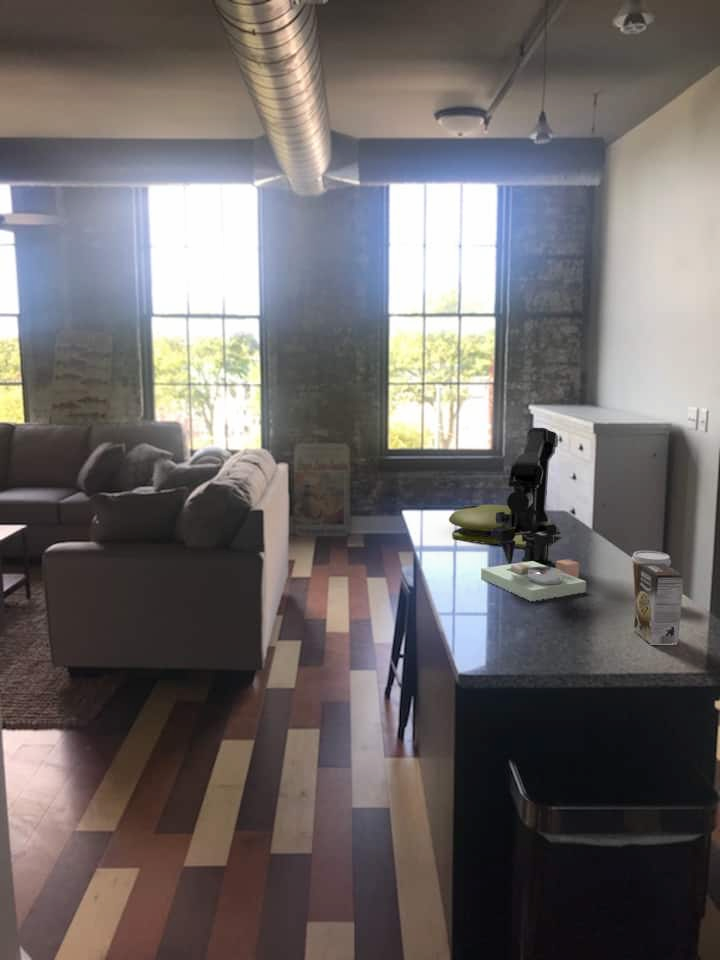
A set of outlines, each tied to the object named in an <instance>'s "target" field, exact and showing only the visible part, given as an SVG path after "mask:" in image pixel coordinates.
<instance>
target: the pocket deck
mask: <svg viewBox="0 0 720 960" xmlns="http://www.w3.org/2000/svg"><path fill="white" fill-rule="evenodd" d="M521 563H526V564H528V565H530V566H533V567H548V565H544V564H543V563H540V564H539V563H537V562H534V561H529V562H528V561H523V562H516V563H511V564H509V563H508V564H504V565H496V566H489V567H483V568H482V567H481V570H480V571H481V572H480V579H481V580H483V581H484V582H487V583H489V582H490V583H489V584H491V583H492V584H491V585H493V584H495V585H494V586H496V585H497V586H496V587H498V586H499V587H498V588H500V587H501V588H500V589H502V588H503V589H502V590H504V589H505V591H507V590H508V591H507V592H509V593H511V592H512V593H511V594H513V593H514V594H513V595H515V594H516V596H517V595H518V597H520V598H522V597H523V598H522V599H524V598H525V599H524V600H526V599H527V601H528V600H529V602H531V601H533V602H537V601H536V600H538V601H543V600H542V599H544V600H549V598H550V599H554V597H556V598H560V597H567V596H572V594H573V595H577V594H578V593H579V594H583V593H586V590H587V589H586V587H587V581H586V580H583V579H581V578H576V577H573V576H571V575H568V574H565V573H563V582H562V583H561V584H558V585H539V584H535V583H532V582H530V581H528V574H525V575H518V574H516V573H514V572H511V565H514V564H521ZM566 595H567V596H566Z"/></svg>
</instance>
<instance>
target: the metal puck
mask: <svg viewBox="0 0 720 960" xmlns="http://www.w3.org/2000/svg"><path fill="white" fill-rule="evenodd" d="M528 581H530V582H532V583H535V584H539V585H558V584H561V583H562V582H563V571H562V570H560V569H557V568H556V567H552V566H547V567H532V568H529V569H528Z"/></svg>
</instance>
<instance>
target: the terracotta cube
mask: <svg viewBox="0 0 720 960" xmlns="http://www.w3.org/2000/svg"><path fill="white" fill-rule="evenodd" d="M555 568H557V569H560V570H562V571H563V573H565V574H568V575H571V576H573V577H576V578H578V579H580V578H579V574H580V562H578V561H574V560H572V559H569V558H566V559H560V560H556V561H555Z"/></svg>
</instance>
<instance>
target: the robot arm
mask: <svg viewBox="0 0 720 960" xmlns="http://www.w3.org/2000/svg"><path fill="white" fill-rule="evenodd" d="M558 442H559V437H558V434H557V433H556V432H555V431H552V430H549V428H546V427H532V428H531V427H530V428H529V430H528V431H527V434H526V444H525V448H524V450H523V453H522V454H521V455H518V456H517V457H516V459H515V461H514V463H512V465H511V469H510V474H509V480H508V487H513V492H511V493H510V494H509V495H508V498H507V499H506V504H507V505H506V506H508V507H509V509H510V510H511V513H510V514H505V512H498V513H496V523H497V524H501V525H502V526H500V527H493V528H492V529H491V531H490V535H489V536H490V537H492V538H494V539H495V540H497V541H499V542H500V544H501V545H502V546H501V545H500V546H501V548H502V550H503V552H504V553H503V554H504V556H505V559H506V562H507V564H508V565H509V564H512V561H513V556H514V552H515V547H514V546H515V541H513V539H514V538H515V535H522V541H526V546H525V549H524V554H523V556H524V557H521V560H523V561H524V562H529V561H534V562H537V563H539V564H545V563H546V564H547V563H551V562H552V560H551V559H549V546H550V545H551V544H554V543H555V536H556V535H558V534H557V533H558V532H557V528H558V527H557V526H556V524H552V523H550V519H551V517H550V515H549V513H548V511H547V510H546V506H547V492H548V481H549V479H548V478H549V465H550V464H549V463H550V460H552V458H553V456H554V454H556V448H558ZM505 526H509V527H513V528H514V529H510V528H507V527H505ZM556 527H557V528H556ZM519 531H521V532H519Z"/></svg>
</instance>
